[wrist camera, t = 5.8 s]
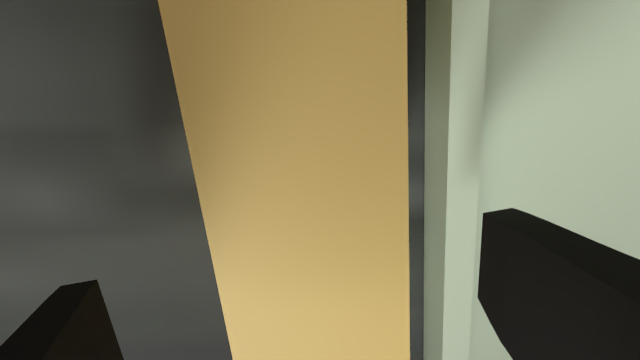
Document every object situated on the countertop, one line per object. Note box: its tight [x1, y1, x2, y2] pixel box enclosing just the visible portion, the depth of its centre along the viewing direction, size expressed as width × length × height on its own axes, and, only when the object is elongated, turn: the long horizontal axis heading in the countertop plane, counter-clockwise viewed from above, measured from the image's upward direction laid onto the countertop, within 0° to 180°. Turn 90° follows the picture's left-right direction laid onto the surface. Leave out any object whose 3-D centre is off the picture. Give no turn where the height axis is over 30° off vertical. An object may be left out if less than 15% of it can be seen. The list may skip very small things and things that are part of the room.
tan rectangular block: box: [158, 0, 410, 360], centre depth 9 cm, size 12×3×6 cm, turn 5°
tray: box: [423, 0, 640, 360], centre depth 14 cm, size 20×10×2 cm, turn 5°
